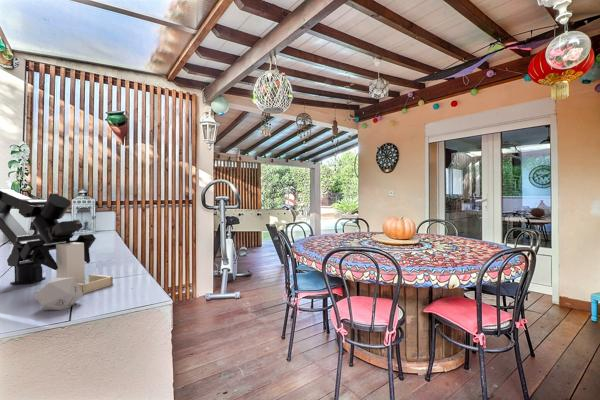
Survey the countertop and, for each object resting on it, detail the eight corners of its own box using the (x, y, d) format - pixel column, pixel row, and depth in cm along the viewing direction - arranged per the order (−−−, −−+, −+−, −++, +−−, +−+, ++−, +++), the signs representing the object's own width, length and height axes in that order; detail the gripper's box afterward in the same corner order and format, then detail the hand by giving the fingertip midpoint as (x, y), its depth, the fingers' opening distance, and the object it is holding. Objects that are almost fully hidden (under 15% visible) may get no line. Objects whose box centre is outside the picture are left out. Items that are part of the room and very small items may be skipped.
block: (57, 286, 89) (55, 244, 89) (74, 282, 94) (73, 242, 93) (67, 288, 87) (66, 245, 87) (84, 283, 92) (83, 242, 92)
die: (43, 322, 66) (74, 285, 69) (17, 302, 68) (48, 266, 71) (69, 320, 74) (96, 287, 77) (46, 302, 75) (73, 270, 78)
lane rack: (44, 291, 87) (44, 280, 87) (79, 282, 96) (79, 272, 96) (81, 297, 81) (80, 285, 81) (114, 286, 91) (114, 276, 91)
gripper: (24, 213, 83) (50, 254, 79) (91, 210, 100) (114, 243, 97) (9, 240, 86) (33, 280, 82) (76, 232, 103) (99, 265, 99)
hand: (73, 265), depth 90 cm, fingers open, 9 cm apart
